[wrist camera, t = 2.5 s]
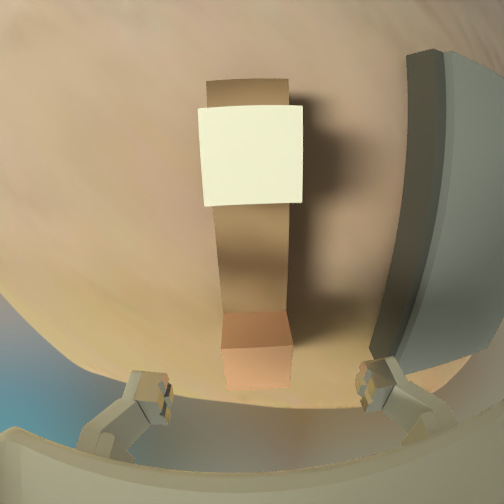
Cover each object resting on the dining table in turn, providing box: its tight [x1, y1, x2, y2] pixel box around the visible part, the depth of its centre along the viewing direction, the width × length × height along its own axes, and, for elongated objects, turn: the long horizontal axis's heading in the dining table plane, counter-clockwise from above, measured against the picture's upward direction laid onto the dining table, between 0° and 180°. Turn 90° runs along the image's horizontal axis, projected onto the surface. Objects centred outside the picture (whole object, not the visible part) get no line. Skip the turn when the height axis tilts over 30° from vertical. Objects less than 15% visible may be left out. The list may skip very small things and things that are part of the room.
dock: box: [369, 49, 504, 375], centre depth 21 cm, size 30×17×6 cm, turn 2°
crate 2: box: [221, 310, 294, 390], centre depth 22 cm, size 5×5×4 cm
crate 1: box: [198, 105, 303, 206], centre depth 15 cm, size 5×5×4 cm
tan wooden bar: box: [206, 79, 289, 313], centre depth 22 cm, size 24×5×4 cm, turn 2°
